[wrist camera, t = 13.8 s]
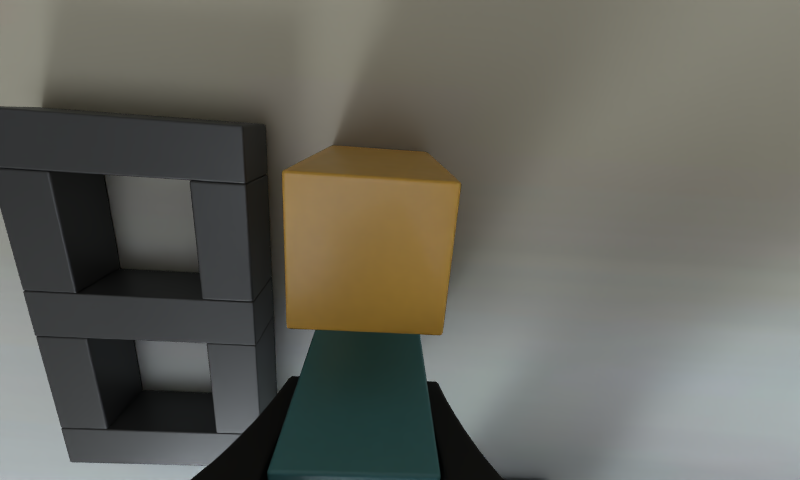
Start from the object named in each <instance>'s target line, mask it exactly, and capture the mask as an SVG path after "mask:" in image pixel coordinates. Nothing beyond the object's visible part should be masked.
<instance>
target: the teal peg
mask: <svg viewBox="0 0 800 480" xmlns="http://www.w3.org/2000/svg"><path fill="white" fill-rule="evenodd" d="M267 476H268V480H440V478H441V474H440V467H439V461H438V454H437V447H436V440H435V433H434V427H433V420H432V413H431V406H430V400H429V393H428V386H427V379H426V372H425V366H424V359H423V352H422V345H421V338H420V334H401V333H379V332H357V331H334V330H315V333H314V336H313V338H312V341H311V344H310V347H309V350H308V353H307V356H306V359H305V362H304V365H303V368H302V371H301V374H300V377H299V380H298V383H297V386H296V389H295V391H294V394H293V397H292V400H291V403H290V406H289V409H288V412H287V415H286V418H285V421H284V424H283V427H282V430H281V433H280V436H279V439H278V442H277V444H276V447H275V450H274V453H273V456H272V459H271V462H270V465H269V468H268V471H267Z"/></svg>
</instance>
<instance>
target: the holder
mask: <svg viewBox="0 0 800 480" xmlns="http://www.w3.org/2000/svg"><path fill="white" fill-rule="evenodd" d="M103 174H104V175H119V176H134V177H149V178H165V179H180V180H192V181H190V189H191V198H192V208H193V217H194V226H195V235H196V244H197V254H198V263H199V272H200V273H188V272H169V271H150V270H131V269H119V268H120V264H119V259H118V253H117V248H116V242H115V236H114V231H113V225H112V220H111V214H110V209H109V203H108V198H107V192H106V187H105V181H104V176H103ZM266 174H267V151H266V126H265V125H264V124H256V123H242V122H229V121H215V120H202V119H188V118H175V117H161V116H148V115H134V114H121V113H107V112H94V111H80V110H67V109H53V108H40V107H4V106H0V208H1V212H2V215H3V219H4V223H5V226H6V230H7V233H8V237H9V241H10V244H11V248H12V251H13V255H14V259H15V262H16V266H17V269H18V273H19V277H20V280H21V284H22V287H23V290H25V291H24V292H23V293H24V296H25V300H26V303H27V307H28V311H29V314H30V318H31V321H32V325H33V329H34V332H35V335H36V336H37V337H36V338H37V342H38V345H39V349H40V352H41V356H42V360H43V363H44V367H45V370H46V374H47V378H48V381H49V385H50V388H51V392H52V396H53V399H54V403H55V406H56V410H57V414H58V417H59V421H60V425H61V427H62V433H63V436H64V440H65V444H66V447H67V451H68V454H69V458H70V461H71V462H85V463H123V464H162V465H201V466H208V465H209V464H210V463H212V462H213V461H214V460H215V459H216V458H217V457H218V456H219V455H221V454H222V453H223V452H224V451H225V450H226V449H227V448H228V447H229V446H230V445H231V444H232V443H233V442H234V441H235V440H236V439H237V438H238V437H239V436H240V435H241V434H242V433H243V432H244V431H245V430H246V429H247V428H248V427H249V426H250V425H251V424H252V423H253V422H254V421H255V419H256V418H257V417H258V416H259V415H260V414H261V413H262V411H263V410H264V409H265V408H266V407H267V406H268V405H269V403H270V402H271V401H272V400H273V399H274V397H275V396H276V395H277V389H276V364H275V340H274V316H273V292H272V277H271V276H272V273H271V249H270V225H269V200H268V176H267V175H266ZM133 340H147V341H170V342H194V343H207V350H208V359H209V368H210V377H211V386H212V393H193V392H166V391H142V385H141V380H140V374H139V369H138V363H137V358H136V352H135V347H134V341H133Z"/></svg>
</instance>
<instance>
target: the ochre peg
mask: <svg viewBox="0 0 800 480" xmlns="http://www.w3.org/2000/svg"><path fill="white" fill-rule="evenodd" d="M282 191H283V225H284V258H285V291H286V324H287V328H289V329H312V330H334V331H357V332H379V333H401V334H424V335H442V333H443V327H444V319H445V311H446V303H447V295H448V287H449V279H450V271H451V263H452V255H453V247H454V239H455V231H456V223H457V215H458V207H459V199H460V191H461V182H459V181H458V180H457V179H456V178H455V177H454V176H453V175H452V174H451V173H450V172H448V171H447V170H446V169H445V168H444V167H443V166H442V165H441V164H440V163H438V162H437V161H436V160H435V159H434V158H433V157H432V156H431V155H430V154H429V153H427V152H421V151H407V150H393V149H379V148H365V147H351V146H337V145H332V146H330V147H328V148H326V149H324V150H322V151H320V152H318V153H316V154H314V155H312V156H310V157H308V158H307V159H305V160H303V161H301V162H299V163H297V164H295V165H293V166H291V167H289V168H287V169H285V170H283V172H282Z"/></svg>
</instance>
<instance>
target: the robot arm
mask: <svg viewBox="0 0 800 480" xmlns="http://www.w3.org/2000/svg"><path fill="white" fill-rule="evenodd" d="M299 377H300V376H292V377H290V378H289V379H288V380H287V382H286V383H285V385H284V386H283V387H282V388H281V390H280V391H279V392H278V394H277V395H276V396H275V397H274V399H273V400H272V401H271V402H270V403H269V405H268V406H267V407H266V408H265V409H264V410H263V411H262V413H261V414H260V415H259V416H258V417H257V418H256V419H255V421H254V422H253V423H252V424H251V425H250V426H249V427H248V428H247V429H246V430H245V431H244V432H243V433H242V434H241V435H240V436H239V437H238V438H237V439H236V440H235V441H234V442H233V443H232V444H231V445H230V446H229V447H228V448H227V449H226V450H225V451H224V452H223V453H222V454H221V455H219V456H218V457H217V458H216V459H215V460H214V461H213V462H212V463H210V464H209V465H208V466H207V467H206V468H204V469H203V470H202V471H201V472H199V473H198V474H197V475H196V476H195V477H193V478H192V479H191V480H268V476H267V471H268V468H269V465H270V462H271V459H272V456H273V453H274V450H275V447H276V444H277V442H278V439H279V436H280V433H281V430H282V427H283V424H284V421H285V418H286V415H287V412H288V409H289V406H290V403H291V400H292V397H293V394H294V391H295V389H296V386H297V383H298V380H299ZM427 386H428V393H429V400H430V406H431V413H432V420H433V427H434V433H435V440H436V447H437V454H438V461H439V467H440V474H441V478H440V480H504V479H503V478H502V477H501V476H500V475H499V474H498V473H497V471H496V470H495V469H494V468H493V467H492V466H491V464H490V463H489V462H488V461H487V460H486V458H485V457H484V456H483V454H482V453H481V452H480V451H479V449H478V448H477V447H476V445H475V444H474V442H473V441H472V440H471V438H470V437H469V435H468V434H467V432H466V431H465V430H464V428H463V426H462V425H461V423H460V422H459V420H458V419H457V417H456V415H455V414H454V412H453V410H452V409H451V407H450V405H449V403H448V402H447V400H446V398H445V396H444V394H443V392H442V390H441V388H440V386H439V384H438V383H437V382H431V381H427Z"/></svg>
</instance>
